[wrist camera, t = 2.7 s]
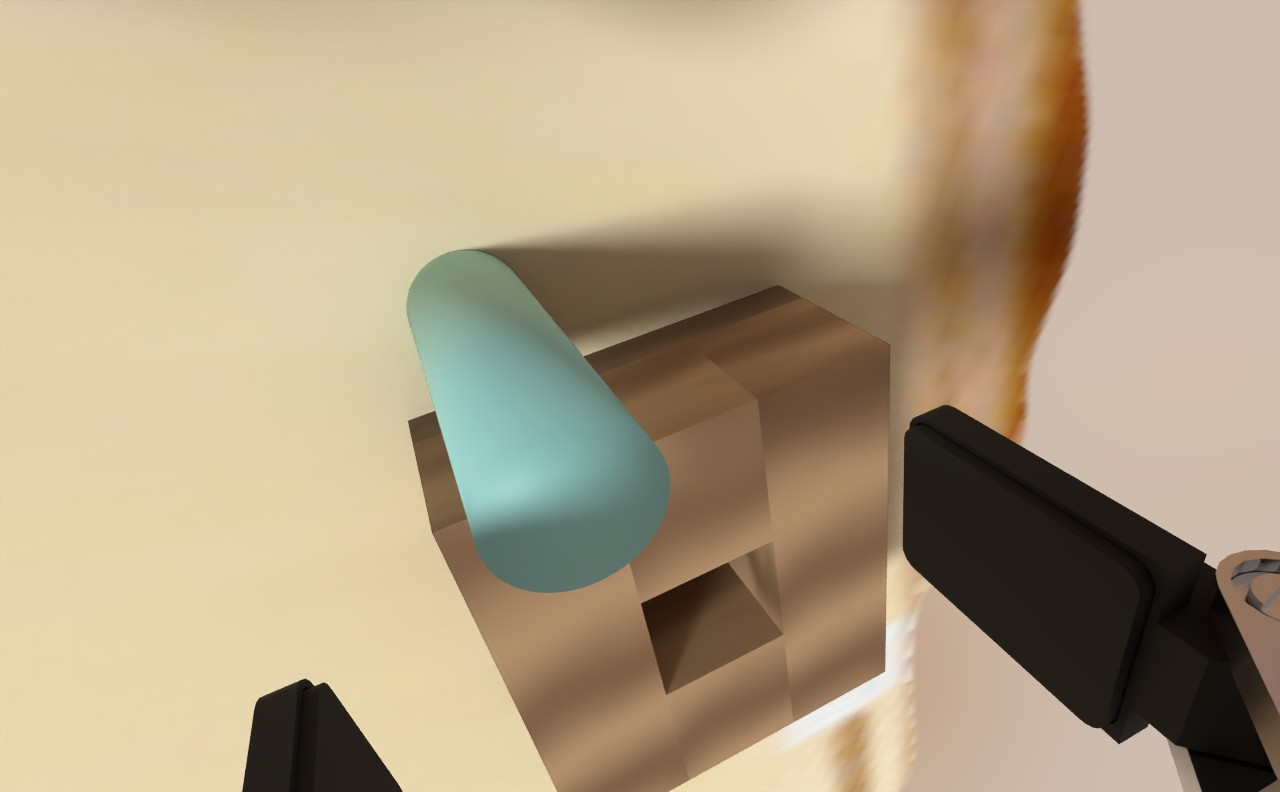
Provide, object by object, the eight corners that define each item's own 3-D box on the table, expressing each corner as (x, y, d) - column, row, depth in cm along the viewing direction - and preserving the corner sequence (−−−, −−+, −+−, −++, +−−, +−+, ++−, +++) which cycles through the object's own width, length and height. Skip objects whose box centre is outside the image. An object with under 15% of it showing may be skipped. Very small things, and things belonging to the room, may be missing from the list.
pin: (387, 271, 19) (441, 471, 10) (506, 234, 20) (651, 388, 11) (431, 377, 21) (509, 623, 12) (538, 339, 22) (683, 542, 13)
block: (408, 421, 21) (431, 532, 17) (778, 285, 25) (890, 344, 20) (539, 709, 30) (580, 839, 25) (802, 578, 33) (885, 671, 28)
